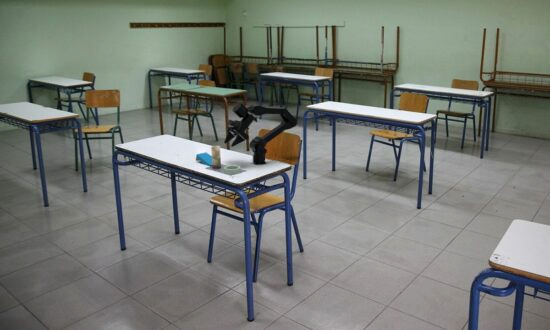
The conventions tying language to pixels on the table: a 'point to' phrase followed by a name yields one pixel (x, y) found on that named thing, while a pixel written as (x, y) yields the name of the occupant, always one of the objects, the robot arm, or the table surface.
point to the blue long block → (204, 158)
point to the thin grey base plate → (228, 169)
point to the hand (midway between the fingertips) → (228, 144)
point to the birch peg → (216, 157)
